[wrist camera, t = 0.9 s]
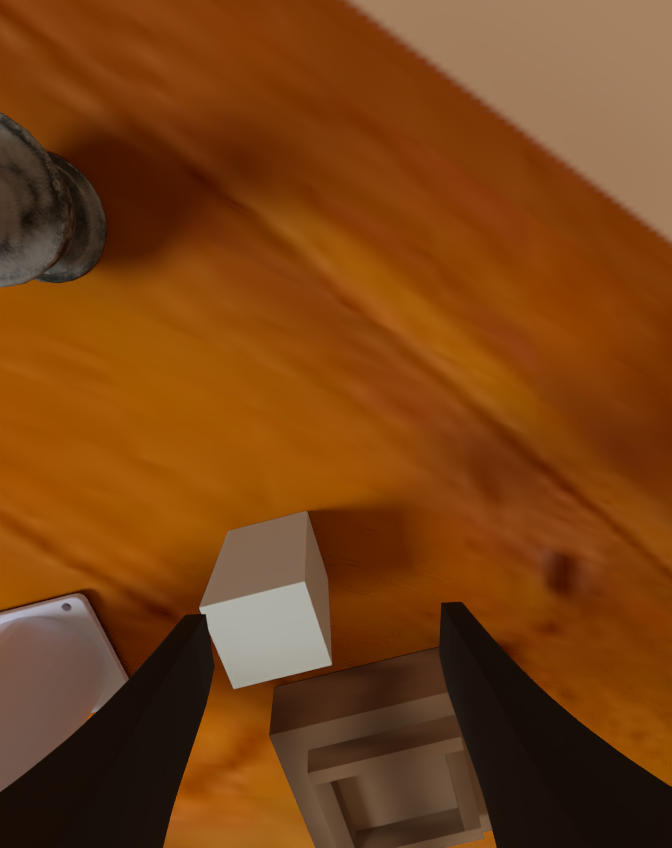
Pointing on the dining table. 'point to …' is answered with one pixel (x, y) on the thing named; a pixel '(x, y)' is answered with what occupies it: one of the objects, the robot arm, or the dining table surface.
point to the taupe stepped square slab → (379, 757)
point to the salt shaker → (44, 213)
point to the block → (269, 602)
